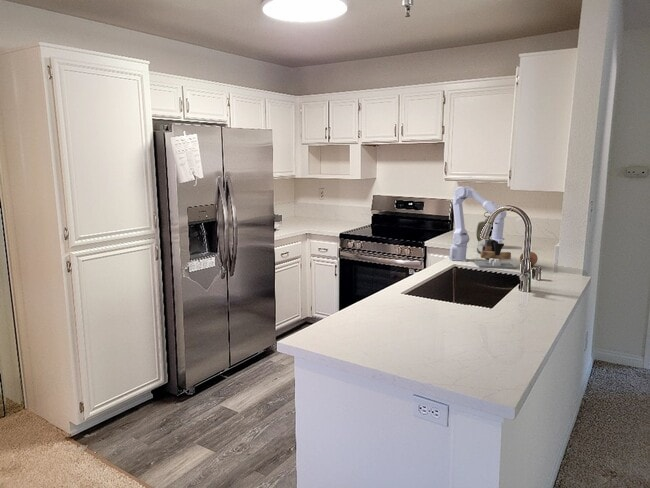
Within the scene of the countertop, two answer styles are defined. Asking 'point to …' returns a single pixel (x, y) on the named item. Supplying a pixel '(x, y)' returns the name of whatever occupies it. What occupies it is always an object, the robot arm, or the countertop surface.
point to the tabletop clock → (481, 227)
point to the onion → (531, 258)
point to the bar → (492, 255)
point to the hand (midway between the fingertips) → (495, 253)
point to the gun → (484, 246)
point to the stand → (494, 264)
